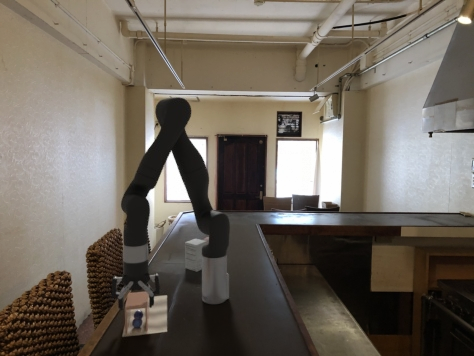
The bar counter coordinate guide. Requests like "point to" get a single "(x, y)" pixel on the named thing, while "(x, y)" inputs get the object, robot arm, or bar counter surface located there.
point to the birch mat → (150, 319)
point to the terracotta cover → (136, 306)
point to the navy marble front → (137, 322)
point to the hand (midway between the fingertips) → (136, 307)
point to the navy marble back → (138, 314)
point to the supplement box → (194, 254)
